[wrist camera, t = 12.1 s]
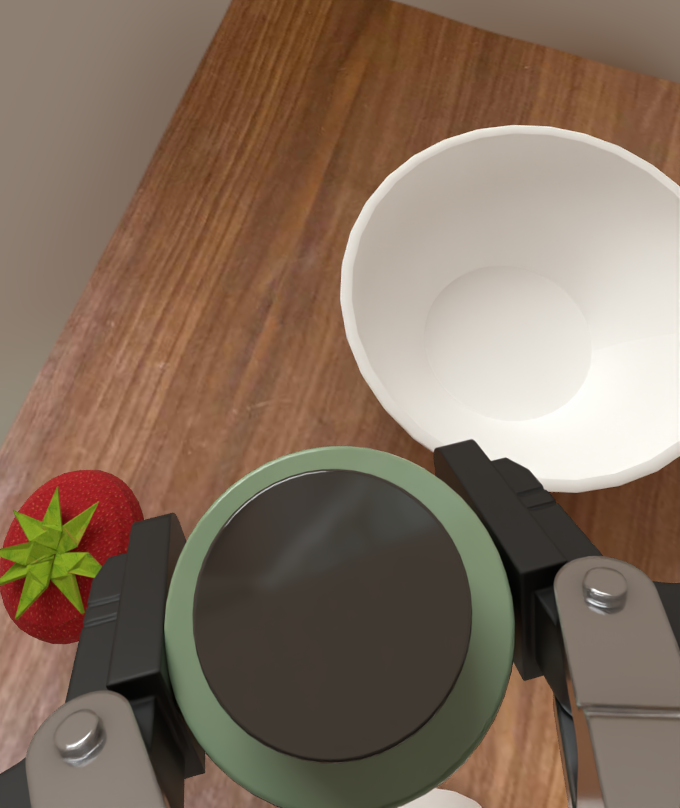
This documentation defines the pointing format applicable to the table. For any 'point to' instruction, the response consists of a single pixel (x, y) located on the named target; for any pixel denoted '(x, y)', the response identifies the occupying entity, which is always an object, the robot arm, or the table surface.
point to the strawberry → (63, 550)
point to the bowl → (524, 303)
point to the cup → (442, 800)
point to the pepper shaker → (339, 630)
